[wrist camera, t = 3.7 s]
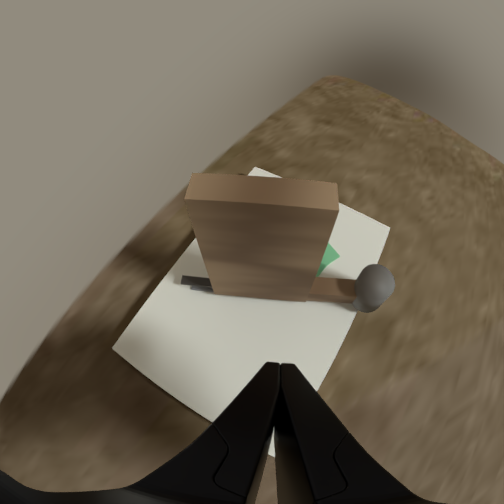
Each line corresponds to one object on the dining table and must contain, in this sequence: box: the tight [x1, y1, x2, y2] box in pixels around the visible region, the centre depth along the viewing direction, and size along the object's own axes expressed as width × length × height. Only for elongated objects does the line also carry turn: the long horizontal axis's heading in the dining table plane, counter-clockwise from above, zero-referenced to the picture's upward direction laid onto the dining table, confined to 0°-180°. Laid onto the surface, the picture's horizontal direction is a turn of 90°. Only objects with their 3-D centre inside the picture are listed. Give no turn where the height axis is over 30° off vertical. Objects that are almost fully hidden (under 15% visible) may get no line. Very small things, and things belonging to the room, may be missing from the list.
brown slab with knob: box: [181, 173, 395, 313], centre depth 13 cm, size 12×2×8 cm, turn 84°
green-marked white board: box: [112, 167, 390, 457], centre depth 18 cm, size 11×16×1 cm
